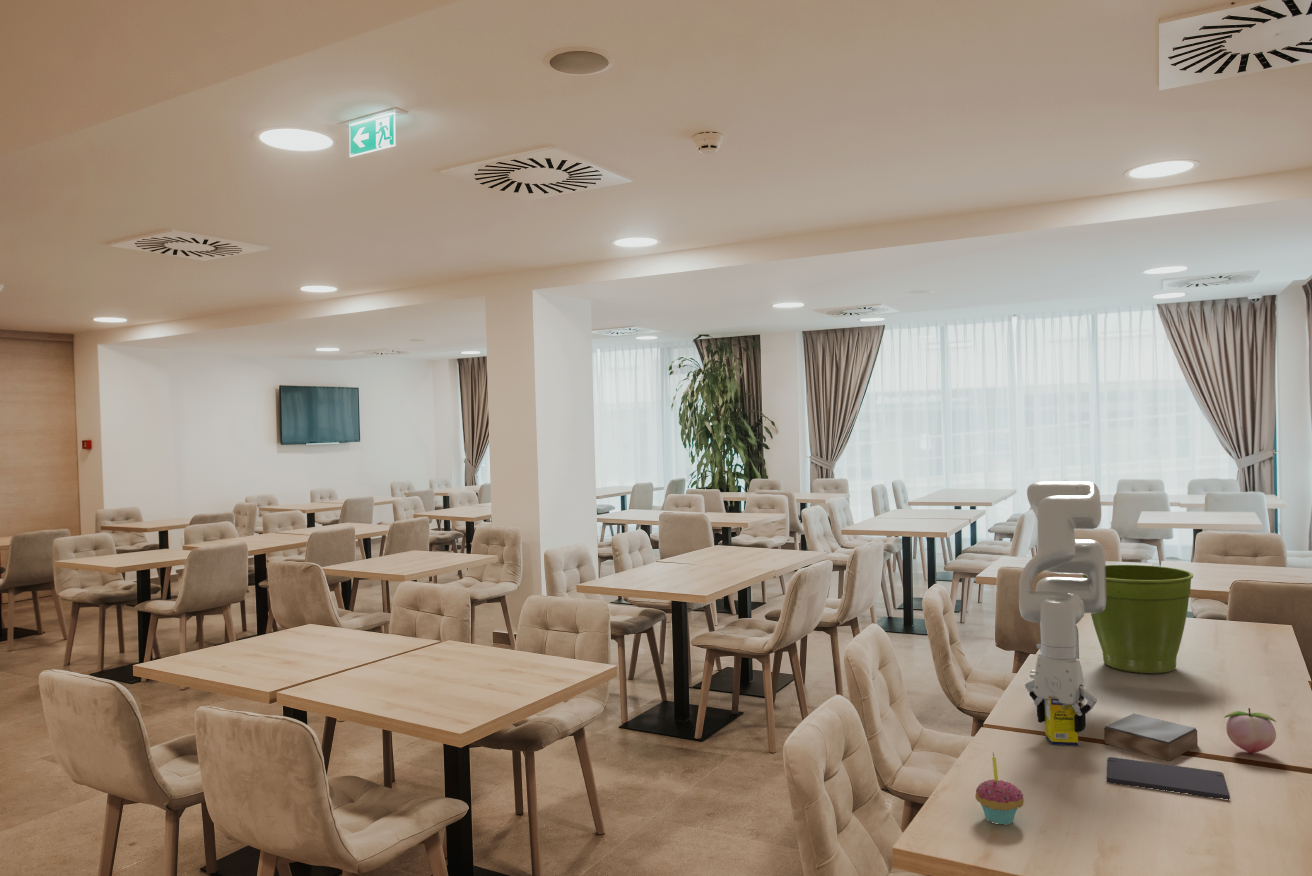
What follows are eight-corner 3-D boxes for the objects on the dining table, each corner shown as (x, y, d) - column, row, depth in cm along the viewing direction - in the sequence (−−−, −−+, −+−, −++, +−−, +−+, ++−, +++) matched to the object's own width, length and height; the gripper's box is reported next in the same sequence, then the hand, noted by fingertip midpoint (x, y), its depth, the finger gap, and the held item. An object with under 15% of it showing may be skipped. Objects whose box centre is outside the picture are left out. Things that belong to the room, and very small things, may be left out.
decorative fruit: (1268, 747, 192) (1267, 703, 192) (1281, 761, 185) (1280, 715, 185) (1220, 744, 196) (1218, 700, 195) (1231, 757, 188) (1229, 711, 188)
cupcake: (968, 811, 166) (966, 749, 166) (1010, 808, 166) (1008, 746, 166) (989, 831, 157) (987, 766, 157) (1033, 828, 158) (1031, 763, 158)
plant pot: (1196, 660, 264) (1193, 567, 264) (1195, 685, 239) (1192, 582, 239) (1088, 649, 280) (1086, 562, 280) (1077, 672, 255) (1075, 576, 255)
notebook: (1106, 785, 177) (1230, 803, 167) (1106, 777, 177) (1229, 795, 167) (1107, 763, 188) (1223, 779, 178) (1107, 756, 188) (1223, 771, 178)
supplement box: (1079, 746, 197) (1077, 698, 197) (1051, 745, 198) (1049, 698, 198) (1071, 737, 203) (1070, 691, 203) (1044, 736, 204) (1043, 690, 204)
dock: (1104, 743, 198) (1104, 726, 198) (1134, 729, 206) (1133, 713, 206) (1169, 760, 187) (1168, 742, 187) (1197, 745, 195) (1197, 728, 195)
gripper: (1015, 647, 205) (1017, 720, 205) (1087, 662, 191) (1089, 739, 191) (1032, 642, 210) (1034, 713, 210) (1104, 656, 195) (1106, 732, 196)
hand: (1061, 725), depth 200 cm, fingers closed on supplement box, 8 cm apart
